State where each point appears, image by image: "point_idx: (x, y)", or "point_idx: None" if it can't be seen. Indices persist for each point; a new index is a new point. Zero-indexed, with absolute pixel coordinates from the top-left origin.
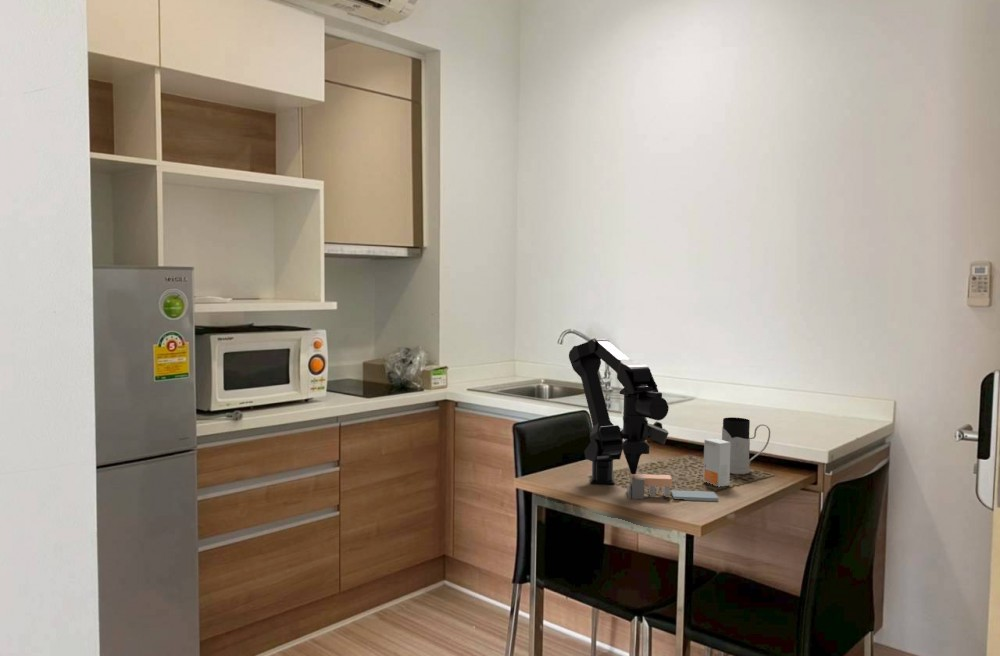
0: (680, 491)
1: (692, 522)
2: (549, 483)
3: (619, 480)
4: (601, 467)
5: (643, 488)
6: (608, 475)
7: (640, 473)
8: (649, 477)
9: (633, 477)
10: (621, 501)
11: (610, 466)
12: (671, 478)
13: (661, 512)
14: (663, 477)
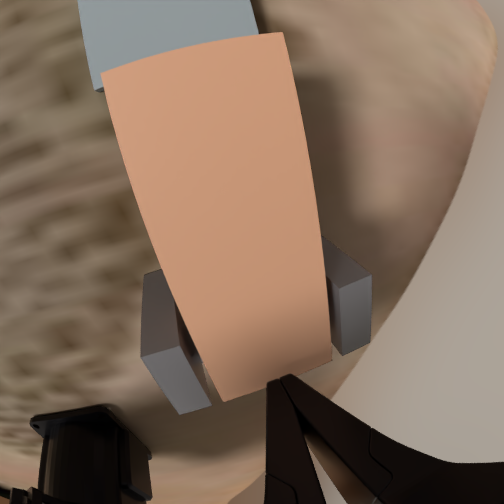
0: (109, 24)
1: (492, 38)
2: (211, 493)
3: (26, 398)
4: (144, 495)
5: (336, 250)
6: (116, 452)
7: (177, 360)
8: (293, 258)
9: (326, 355)
10: None
11: (95, 482)
12: (258, 34)
13: (456, 122)
14: (246, 121)
